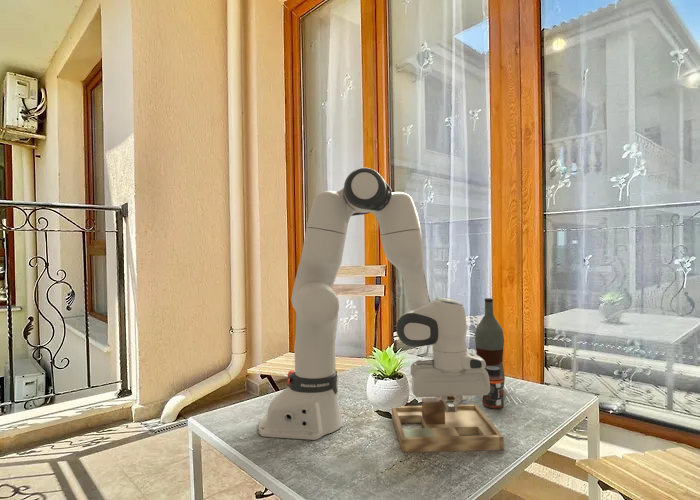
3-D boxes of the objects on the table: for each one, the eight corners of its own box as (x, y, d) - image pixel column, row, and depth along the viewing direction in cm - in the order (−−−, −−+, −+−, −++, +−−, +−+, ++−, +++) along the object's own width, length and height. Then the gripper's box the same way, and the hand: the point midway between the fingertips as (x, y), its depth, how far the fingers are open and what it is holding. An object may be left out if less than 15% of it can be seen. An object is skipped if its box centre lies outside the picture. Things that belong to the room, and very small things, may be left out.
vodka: (510, 389, 138) (509, 298, 138) (495, 396, 132) (494, 301, 132) (484, 382, 145) (483, 296, 145) (469, 388, 139) (468, 298, 139)
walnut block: (425, 424, 108) (425, 405, 108) (422, 416, 113) (421, 398, 113) (445, 424, 108) (444, 404, 108) (440, 416, 113) (440, 397, 113)
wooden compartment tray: (401, 452, 98) (401, 439, 98) (391, 417, 118) (391, 406, 118) (503, 449, 98) (503, 436, 98) (476, 414, 118) (476, 404, 118)
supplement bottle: (505, 410, 121) (504, 371, 121) (483, 408, 123) (483, 370, 122) (502, 402, 127) (501, 365, 127) (481, 401, 128) (481, 364, 128)
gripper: (412, 364, 107) (413, 417, 107) (491, 361, 107) (492, 415, 108) (408, 357, 113) (409, 408, 114) (483, 355, 114) (484, 406, 114)
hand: (450, 411), depth 111 cm, fingers closed
